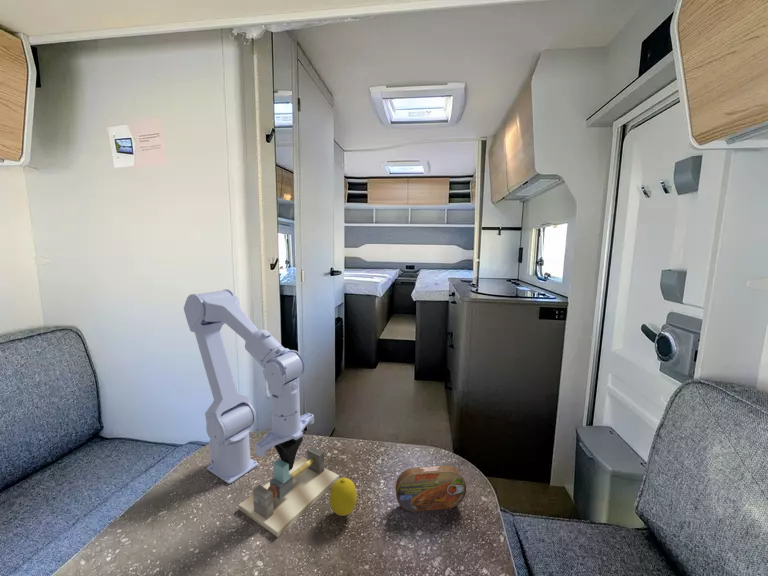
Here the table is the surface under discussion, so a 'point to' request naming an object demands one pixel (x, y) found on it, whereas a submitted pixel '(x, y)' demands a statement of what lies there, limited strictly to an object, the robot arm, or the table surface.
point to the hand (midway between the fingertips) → (287, 467)
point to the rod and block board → (290, 494)
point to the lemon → (343, 496)
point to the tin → (430, 488)
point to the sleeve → (282, 478)
